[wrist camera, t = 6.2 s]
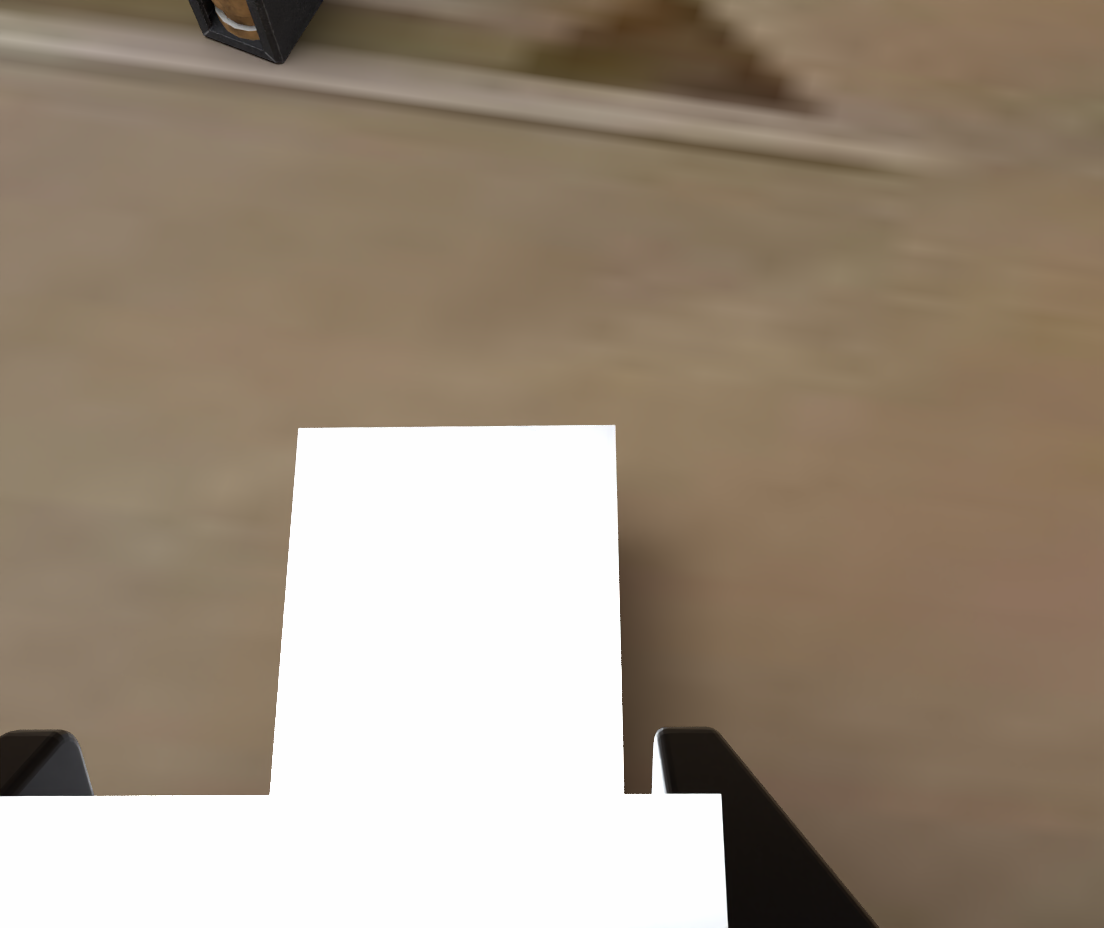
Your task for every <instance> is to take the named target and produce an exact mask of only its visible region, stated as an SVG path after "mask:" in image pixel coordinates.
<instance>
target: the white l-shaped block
mask: <svg viewBox="0 0 1104 928" xmlns="http://www.w3.org/2000/svg"><path fill="white" fill-rule="evenodd" d="M0 928H728V919H727V899H726V880H725V861H724V842H723V822H722V803H721V794H624V773H623V731H622V689H621V648H620V606H619V564H618V522H617V481H616V439H615V425H583V426H481V427H380V428H299V431H298V444H297V456H296V469H295V482H294V495H293V508H292V520H291V533H290V546H289V559H288V572H287V584H286V597H285V610H284V623H283V635H282V648H281V661H280V674H279V687H278V699H277V712H276V725H275V738H274V751H273V763H272V776H271V789H270V796H25V797H0Z"/></svg>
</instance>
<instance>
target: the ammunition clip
mask: <svg viewBox="0 0 1104 928" xmlns="http://www.w3.org/2000/svg"><path fill="white" fill-rule="evenodd" d="M322 2H323V0H189V3H190V5H191V7H192V9H193V12H194V14H195V16H196V19H197V21H198V23H199V26H200V28H201V30H202V33H203V35H205V36H207V37H210V38H213V39H215V40H218V41H220V42H223V43H226V44H228V45H231V46H234V47H236V48H239V49H241V50H244V51H247V52H249V53H252V54H255V55H257V56H260V57H262V58H265V59H268V60H270V61H273V62H275V63H277V62H282V63H284V61H285V60H286V58H287V57H288V55H289V54H290V52H291V50H292V49H293V47H294V46H295V44H296V43H297V41H298V39H299V38H300V36H301V35H302V33H303V32H304V30H305V28H306V27H307V25H308V24H309V22H310V21H311V19H312V17H313V16H314V14H315V13H316V11H317V10H318V8H319V6H320V5H321V3H322Z"/></svg>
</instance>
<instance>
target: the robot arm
mask: <svg viewBox="0 0 1104 928" xmlns="http://www.w3.org/2000/svg"><path fill="white" fill-rule="evenodd" d="M652 794H721V803H722V822H723V842H724V861H725V880H726V899H727V919H728V928H879V926H878V925H877V924H876V923H875V922H874V920H873V919H872V918H871V917H870V915H869V914H868V913H867V912H866V911H865V909H864V908H863V907H862V906H861V905H860V903H859V902H858V901H857V900H856V898H855V897H854V896H853V895H852V894H851V892H850V891H849V890H848V889H847V888H846V886H845V885H844V884H843V883H842V881H841V880H840V879H839V878H838V877H837V875H836V874H835V873H834V872H833V870H832V869H831V868H830V867H829V866H828V864H827V863H826V862H825V861H824V860H823V858H822V857H821V856H820V855H819V853H818V852H817V851H816V850H815V849H814V847H813V846H812V845H811V844H810V843H809V841H808V840H807V839H806V838H805V836H804V835H803V834H802V833H801V832H800V830H799V829H798V828H797V827H796V825H795V824H794V823H793V822H792V821H791V819H790V818H789V817H788V816H787V815H786V813H785V812H784V811H783V810H782V808H781V807H780V806H779V805H778V804H777V802H776V801H775V800H774V799H773V797H772V796H771V795H770V794H769V793H768V791H767V790H766V789H765V788H764V787H763V785H762V784H761V783H760V782H759V780H758V779H757V778H756V777H755V776H754V774H753V773H752V772H751V771H750V770H749V768H748V767H747V766H746V765H745V763H744V762H743V761H742V760H741V759H740V757H739V756H738V755H737V754H736V752H735V751H734V750H733V749H732V748H731V746H730V745H729V744H728V743H727V742H726V740H725V739H724V738H723V737H722V735H721V734H720V733H719V732H718V731H716V730H715V729H713V728H710V727H662V728H661V729H659V730H658V731H657V733H656V735H655V738H654V749H653V776H652ZM25 796H94V793H93V790H92V786H91V783H90V779H89V776H88V772H87V769H86V765H85V762H84V758H83V755H82V751H81V748H80V746H79V743H78V741H77V739H76V738H75V737H74V736H73V735H72V734H71V733H70V732H67V731H64V730H16V731H11V732H8V733H5V734H4V735H2V736H0V797H25Z"/></svg>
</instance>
